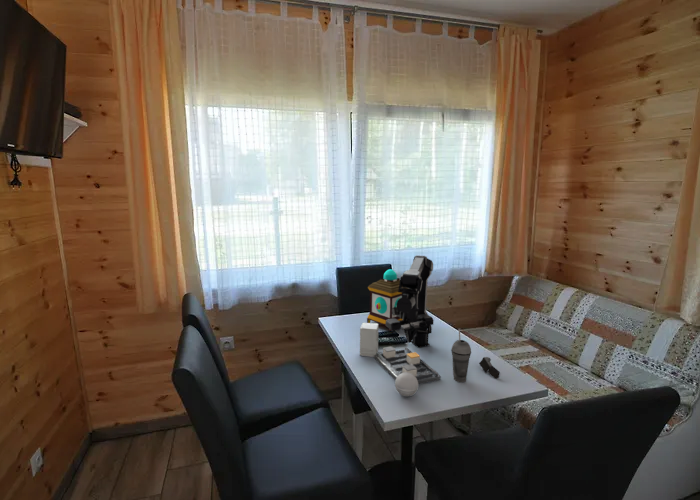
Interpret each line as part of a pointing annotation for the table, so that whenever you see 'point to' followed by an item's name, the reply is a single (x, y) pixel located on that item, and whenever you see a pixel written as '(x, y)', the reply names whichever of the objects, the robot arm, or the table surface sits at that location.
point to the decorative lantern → (384, 298)
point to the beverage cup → (460, 359)
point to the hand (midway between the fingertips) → (409, 342)
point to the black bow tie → (489, 367)
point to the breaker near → (410, 369)
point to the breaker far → (389, 352)
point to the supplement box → (368, 339)
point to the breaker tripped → (413, 358)
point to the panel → (396, 364)
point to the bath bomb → (406, 384)
